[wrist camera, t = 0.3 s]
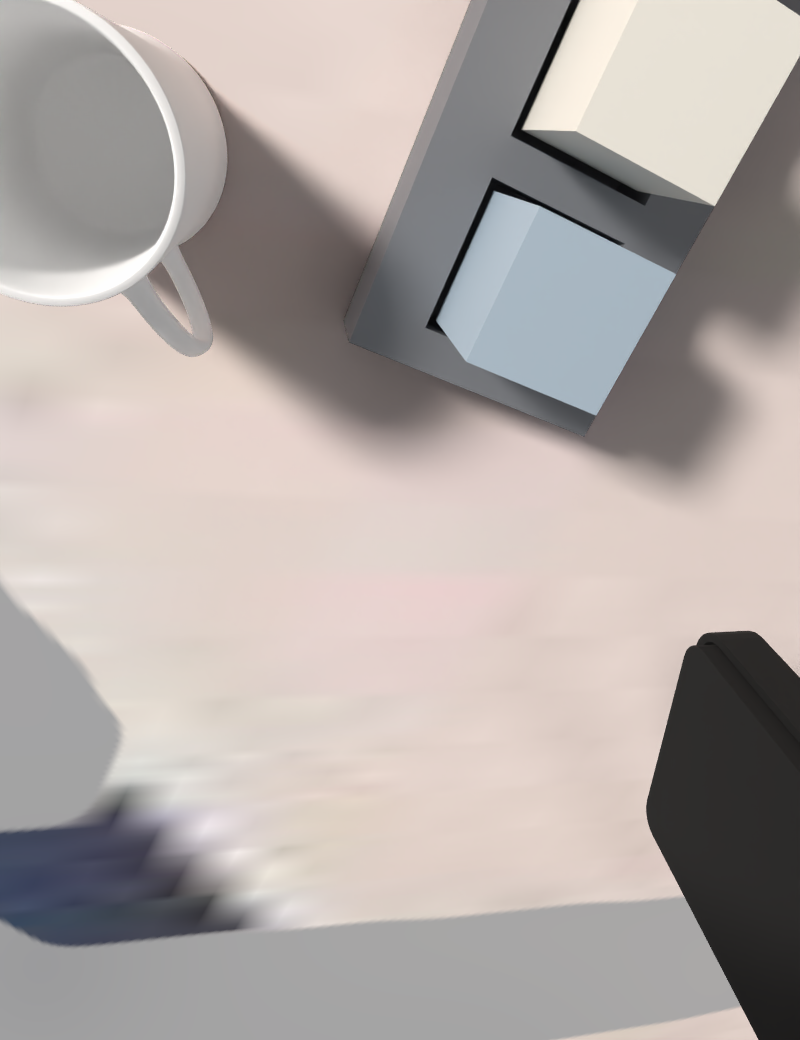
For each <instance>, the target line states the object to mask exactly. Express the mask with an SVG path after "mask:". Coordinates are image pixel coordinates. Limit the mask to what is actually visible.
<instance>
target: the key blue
mask: <svg viewBox="0 0 800 1040" xmlns="http://www.w3.org/2000/svg"><path fill="white" fill-rule="evenodd" d="M675 276H676V274H675V273H673V272H671V271H669V270H667V269H665V268H663V267H661V266H659V265H657V264H655V263H653V262H651V261H649V260H647V259H645V258H643V257H641V256H639V255H637V254H635V253H633V252H631V251H629V250H627V249H625V248H623V247H621V246H619V245H617V244H615V243H613V242H611V241H609V240H607V239H605V238H603V237H601V236H599V235H597V234H595V233H593V232H591V231H589V230H587V229H585V228H583V227H581V226H579V225H577V224H575V223H573V222H571V221H569V220H567V219H565V218H563V217H561V216H559V215H557V214H555V213H553V212H551V211H549V210H547V209H545V208H543V207H541V206H538V205H535V204H532V203H529V202H526V201H523V200H520V199H517V198H514V197H511V196H508V195H505V194H502V193H499V192H496V191H493V193H492V195H491V198H490V200H489V202H488V204H487V207H486V209H485V211H484V213H483V216H482V218H481V220H480V222H479V224H478V227H477V229H476V231H475V233H474V236H473V238H472V240H471V242H470V245H469V247H468V249H467V251H466V253H465V256H464V258H463V260H462V262H461V265H460V267H459V269H458V271H457V274H456V276H455V278H454V280H453V282H452V285H451V287H450V289H449V291H448V294H447V296H446V298H445V300H444V302H443V305H442V307H441V309H440V311H439V314H438V316H437V318H436V321H437V323H438V324H439V325H440V327H441V328H442V329H443V331H444V332H445V334H446V335H447V336H448V338H449V339H450V340H451V342H452V343H453V345H454V346H455V347H456V349H457V350H458V351H459V353H460V354H461V356H462V357H463V358H464V360H465V361H466V362H468V363H470V364H473V365H475V366H478V367H480V368H482V369H485V370H487V371H490V372H492V373H494V374H497V375H499V376H502V377H504V378H507V379H509V380H511V381H514V382H516V383H519V384H521V385H523V386H526V387H528V388H531V389H533V390H536V391H538V392H540V393H543V394H545V395H548V396H550V397H552V398H555V399H557V400H560V401H562V402H565V403H567V404H569V405H572V406H574V407H577V408H579V409H581V410H584V411H586V412H589V413H591V414H594V415H597V413H598V412H599V410H600V408H601V406H602V405H603V403H604V401H605V399H606V397H607V396H608V394H609V392H610V390H611V389H612V387H613V385H614V383H615V382H616V380H617V378H618V376H619V375H620V373H621V371H622V369H623V367H624V366H625V364H626V362H627V360H628V359H629V357H630V355H631V353H632V352H633V350H634V348H635V346H636V344H637V343H638V341H639V339H640V337H641V336H642V334H643V332H644V330H645V329H646V327H647V325H648V323H649V322H650V320H651V318H652V316H653V314H654V313H655V311H656V309H657V307H658V306H659V304H660V302H661V300H662V299H663V297H664V295H665V293H666V291H667V290H668V288H669V286H670V284H671V283H672V281H673V279H674V277H675Z"/></svg>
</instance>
